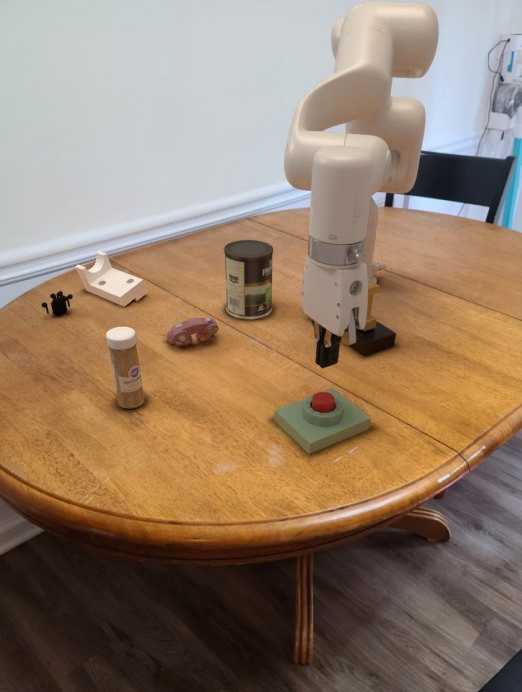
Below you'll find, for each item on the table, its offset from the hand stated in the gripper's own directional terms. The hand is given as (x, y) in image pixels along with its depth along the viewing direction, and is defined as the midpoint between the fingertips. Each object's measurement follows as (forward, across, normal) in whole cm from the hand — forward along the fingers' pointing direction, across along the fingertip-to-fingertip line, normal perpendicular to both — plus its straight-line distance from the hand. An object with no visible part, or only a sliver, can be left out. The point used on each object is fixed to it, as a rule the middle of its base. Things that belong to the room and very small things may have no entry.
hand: (326, 363), depth 86 cm
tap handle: (+9, +18, -24) cm, 31 cm away
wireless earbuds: (+12, +60, +25) cm, 66 cm away
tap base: (+12, +22, -21) cm, 32 cm away
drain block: (+12, 0, 0) cm, 12 cm away
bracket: (+12, +64, +12) cm, 66 cm away
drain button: (+8, 0, 0) cm, 8 cm away
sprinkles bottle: (+12, +22, +24) cm, 35 cm away
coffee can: (+12, +42, -11) cm, 45 cm away
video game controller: (+12, +34, +6) cm, 37 cm away
